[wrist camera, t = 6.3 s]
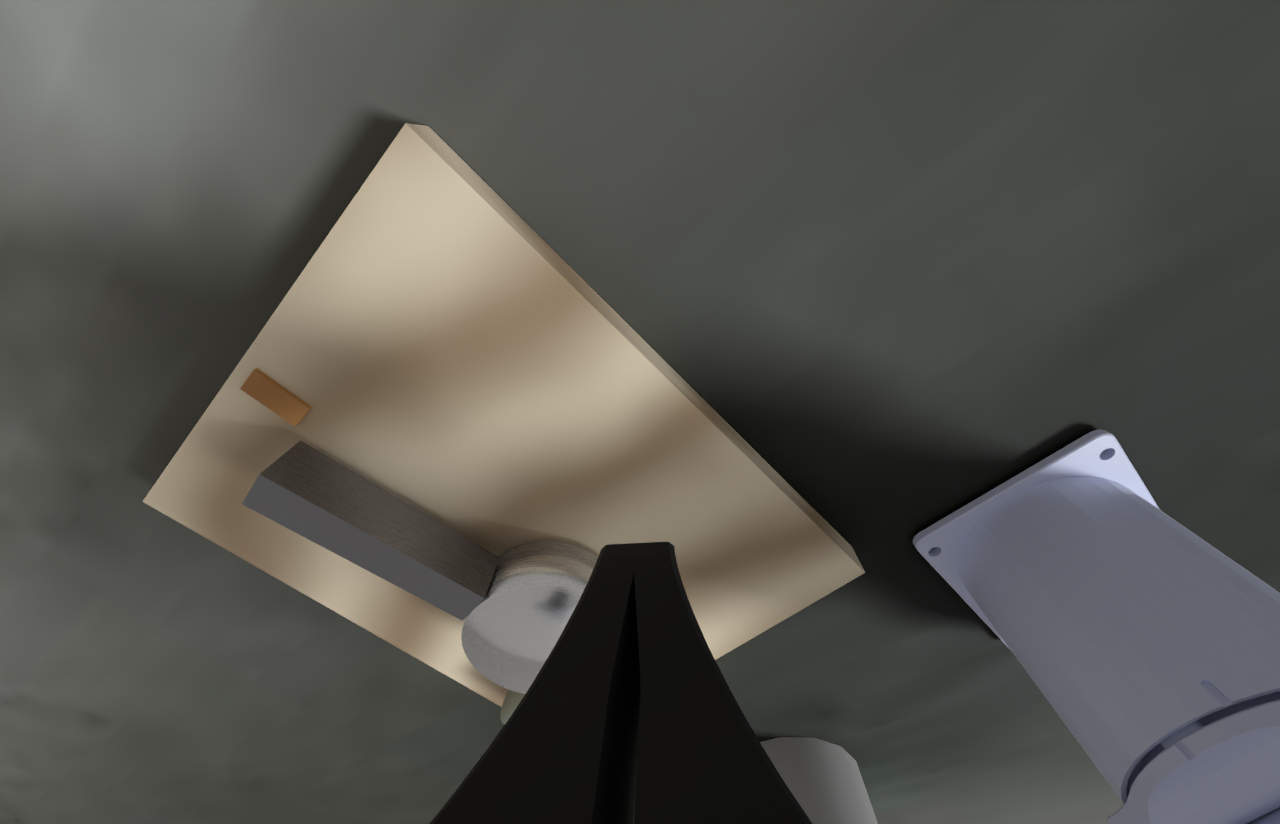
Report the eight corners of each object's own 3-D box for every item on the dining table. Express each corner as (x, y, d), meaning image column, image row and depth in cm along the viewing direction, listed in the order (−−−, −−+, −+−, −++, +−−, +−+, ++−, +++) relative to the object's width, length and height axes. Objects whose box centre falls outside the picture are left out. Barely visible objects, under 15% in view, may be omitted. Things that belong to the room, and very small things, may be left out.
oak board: (851, 546, 21) (891, 622, 18) (572, 716, 27) (561, 797, 24) (428, 125, 14) (357, 116, 11) (175, 478, 20) (78, 545, 17)
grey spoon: (655, 591, 20) (656, 642, 18) (568, 662, 22) (560, 716, 20) (335, 389, 16) (288, 424, 14) (267, 500, 18) (217, 545, 16)
